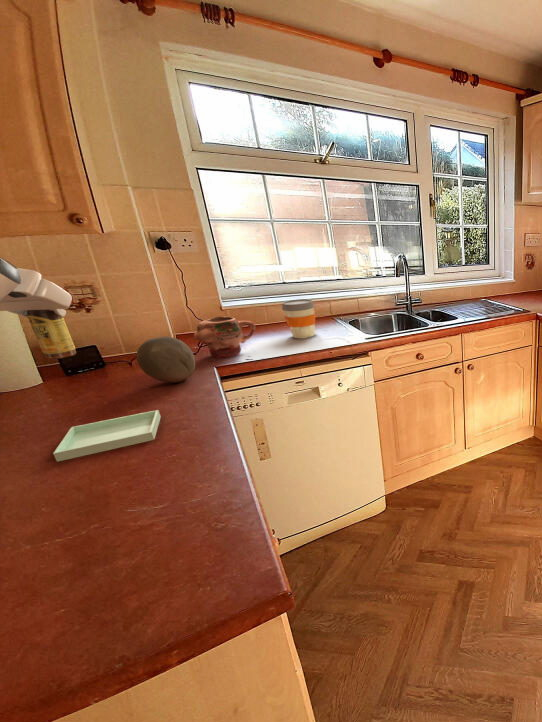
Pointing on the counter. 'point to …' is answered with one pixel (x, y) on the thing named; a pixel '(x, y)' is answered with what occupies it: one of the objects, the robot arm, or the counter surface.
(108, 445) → the plastic tray
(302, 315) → the reusable coffee cup
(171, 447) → the counter surface
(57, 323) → the sauce bottle
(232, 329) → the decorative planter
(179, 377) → the cantaloupe
